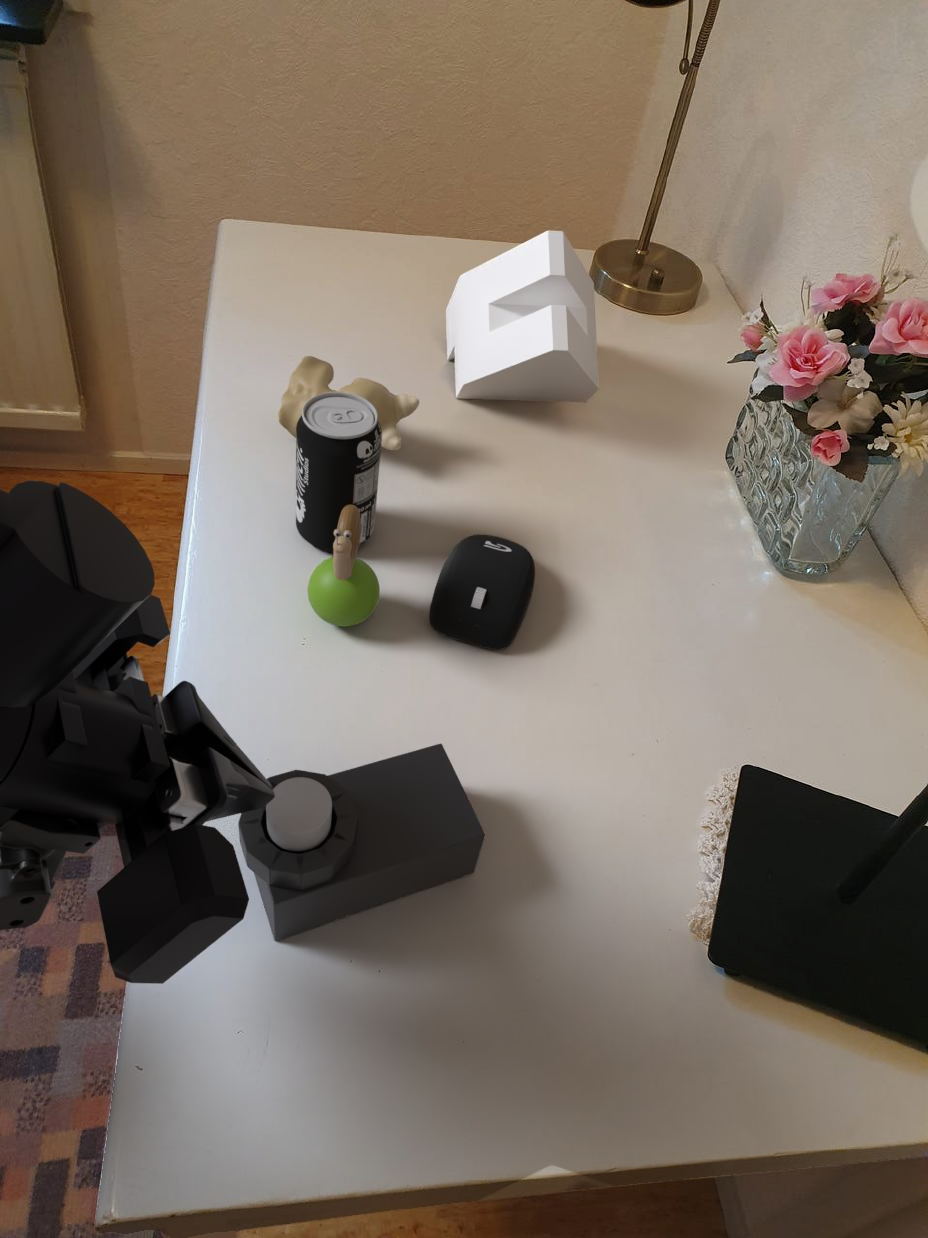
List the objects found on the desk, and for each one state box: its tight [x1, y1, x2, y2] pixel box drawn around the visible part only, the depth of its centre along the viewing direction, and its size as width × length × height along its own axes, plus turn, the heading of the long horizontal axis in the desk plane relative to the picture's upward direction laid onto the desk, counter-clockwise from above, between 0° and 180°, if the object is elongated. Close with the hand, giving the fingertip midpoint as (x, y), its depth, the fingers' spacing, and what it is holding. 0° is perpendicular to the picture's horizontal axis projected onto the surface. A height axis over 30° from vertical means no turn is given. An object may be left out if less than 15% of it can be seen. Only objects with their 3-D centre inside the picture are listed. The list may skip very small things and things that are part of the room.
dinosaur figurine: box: [278, 355, 420, 451], centre depth 85 cm, size 8×7×12 cm
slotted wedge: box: [445, 229, 600, 403], centre depth 92 cm, size 14×11×18 cm
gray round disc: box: [266, 777, 332, 852], centre depth 52 cm, size 4×4×2 cm
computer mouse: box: [428, 533, 536, 650], centre depth 75 cm, size 8×12×4 cm, turn 164°
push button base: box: [237, 743, 486, 942], centre depth 56 cm, size 14×7×7 cm, turn 114°
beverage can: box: [295, 392, 382, 553], centre depth 75 cm, size 7×7×12 cm
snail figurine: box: [307, 505, 381, 627], centre depth 68 cm, size 5×6×12 cm
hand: (267, 796), depth 49 cm, fingers closed
